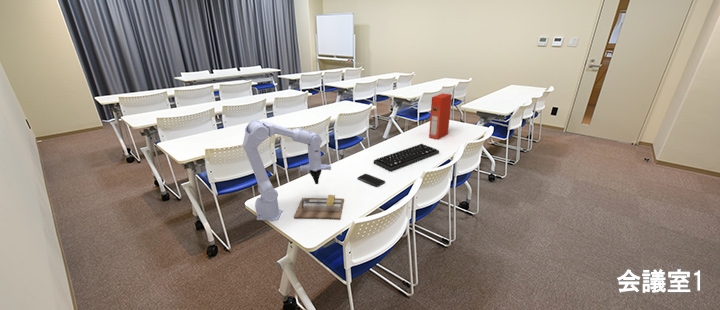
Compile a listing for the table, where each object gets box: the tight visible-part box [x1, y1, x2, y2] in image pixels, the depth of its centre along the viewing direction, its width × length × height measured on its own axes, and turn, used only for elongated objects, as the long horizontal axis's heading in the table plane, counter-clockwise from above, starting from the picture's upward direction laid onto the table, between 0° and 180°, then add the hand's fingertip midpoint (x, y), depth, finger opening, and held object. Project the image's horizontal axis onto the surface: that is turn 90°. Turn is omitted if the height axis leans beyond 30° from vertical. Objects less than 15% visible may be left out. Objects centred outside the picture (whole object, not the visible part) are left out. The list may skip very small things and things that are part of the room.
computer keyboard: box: [373, 143, 440, 173], centre depth 189 cm, size 45×16×4 cm, turn 128°
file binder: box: [428, 93, 453, 140], centre depth 223 cm, size 8×17×32 cm, turn 139°
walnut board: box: [293, 197, 345, 221], centre depth 136 cm, size 21×16×1 cm
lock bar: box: [326, 194, 336, 206], centre depth 133 cm, size 3×6×2 cm, turn 177°
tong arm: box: [309, 199, 342, 206], centre depth 136 cm, size 15×2×3 cm, turn 87°
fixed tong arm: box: [301, 199, 341, 212], centre depth 134 cm, size 18×4×4 cm, turn 87°
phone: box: [357, 173, 386, 188], centre depth 162 cm, size 8×1×15 cm
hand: (316, 183), depth 140 cm, fingers closed
